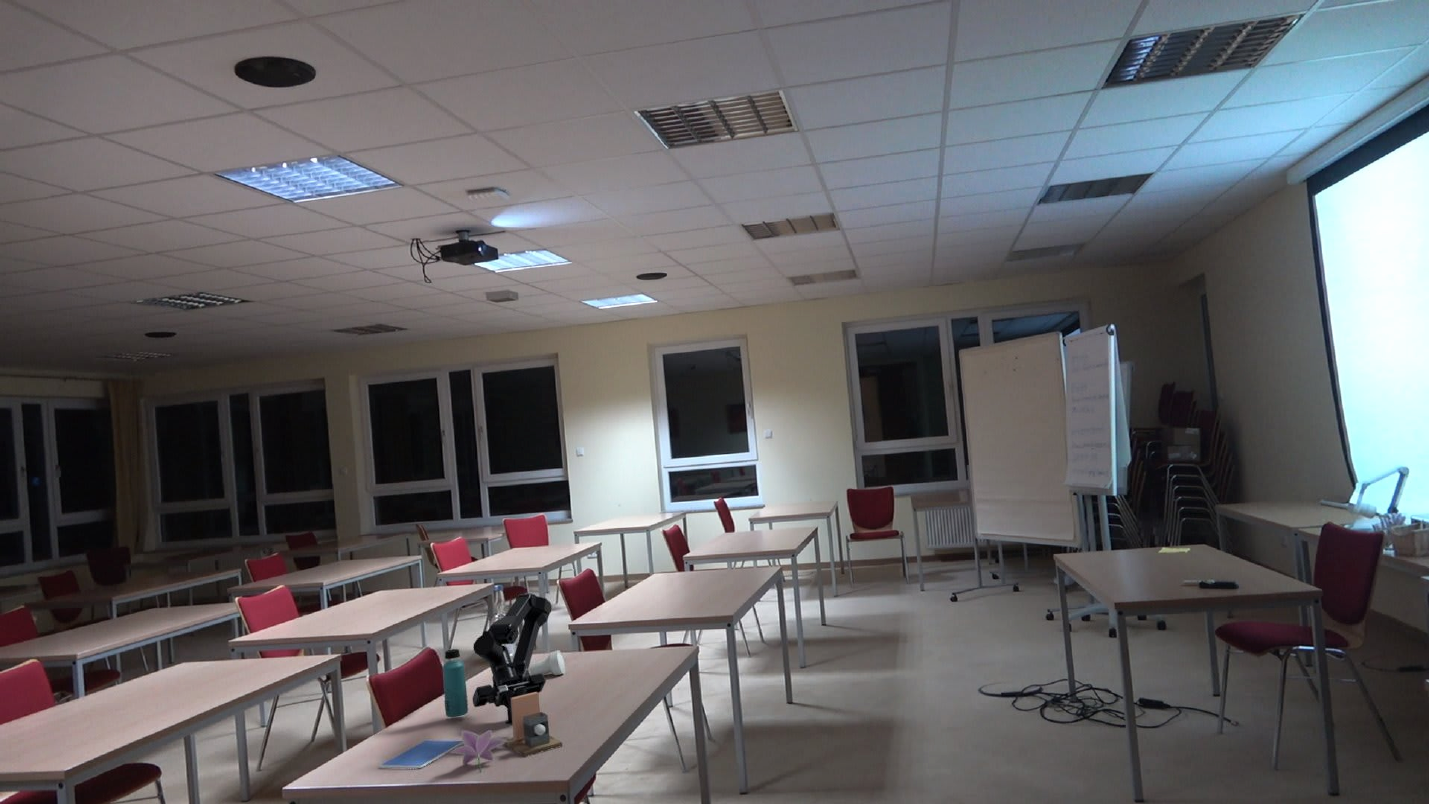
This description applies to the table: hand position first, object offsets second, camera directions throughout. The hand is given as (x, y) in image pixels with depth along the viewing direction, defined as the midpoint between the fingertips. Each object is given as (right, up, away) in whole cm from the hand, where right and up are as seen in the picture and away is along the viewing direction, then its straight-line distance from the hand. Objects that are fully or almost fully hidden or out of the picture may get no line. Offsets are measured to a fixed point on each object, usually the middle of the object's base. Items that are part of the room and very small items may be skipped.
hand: (518, 718), depth 227 cm
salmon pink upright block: (+5, -4, -4) cm, 7 cm away
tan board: (+4, -6, -3) cm, 8 cm away
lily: (-6, -6, -16) cm, 18 cm away
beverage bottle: (-24, -10, +27) cm, 38 cm away
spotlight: (-5, -12, +71) cm, 73 cm away
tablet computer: (-24, -9, -3) cm, 26 cm away
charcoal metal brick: (+6, -5, -6) cm, 10 cm away
